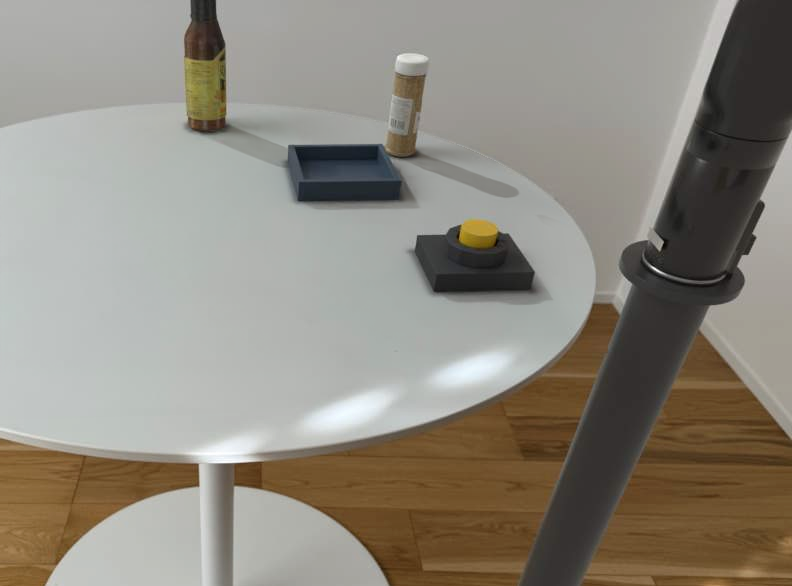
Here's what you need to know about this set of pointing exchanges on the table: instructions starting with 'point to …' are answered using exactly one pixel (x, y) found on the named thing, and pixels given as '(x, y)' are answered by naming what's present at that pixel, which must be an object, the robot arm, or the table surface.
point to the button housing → (472, 263)
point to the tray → (343, 172)
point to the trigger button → (478, 234)
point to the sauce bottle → (205, 68)
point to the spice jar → (406, 104)
